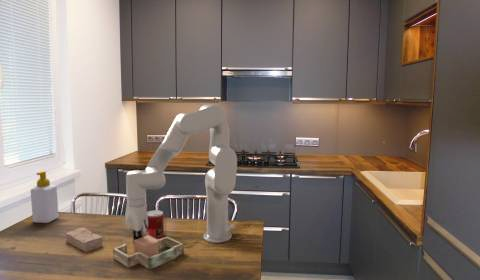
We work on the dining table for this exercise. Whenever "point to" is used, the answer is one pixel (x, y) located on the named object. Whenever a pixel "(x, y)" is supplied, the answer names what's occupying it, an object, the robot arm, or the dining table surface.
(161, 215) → the canned food
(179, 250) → the channel
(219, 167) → the robot arm
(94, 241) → the brick
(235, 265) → the dining table surface
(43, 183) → the soap bottle
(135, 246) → the block
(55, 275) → the dining table surface
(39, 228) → the dining table surface
